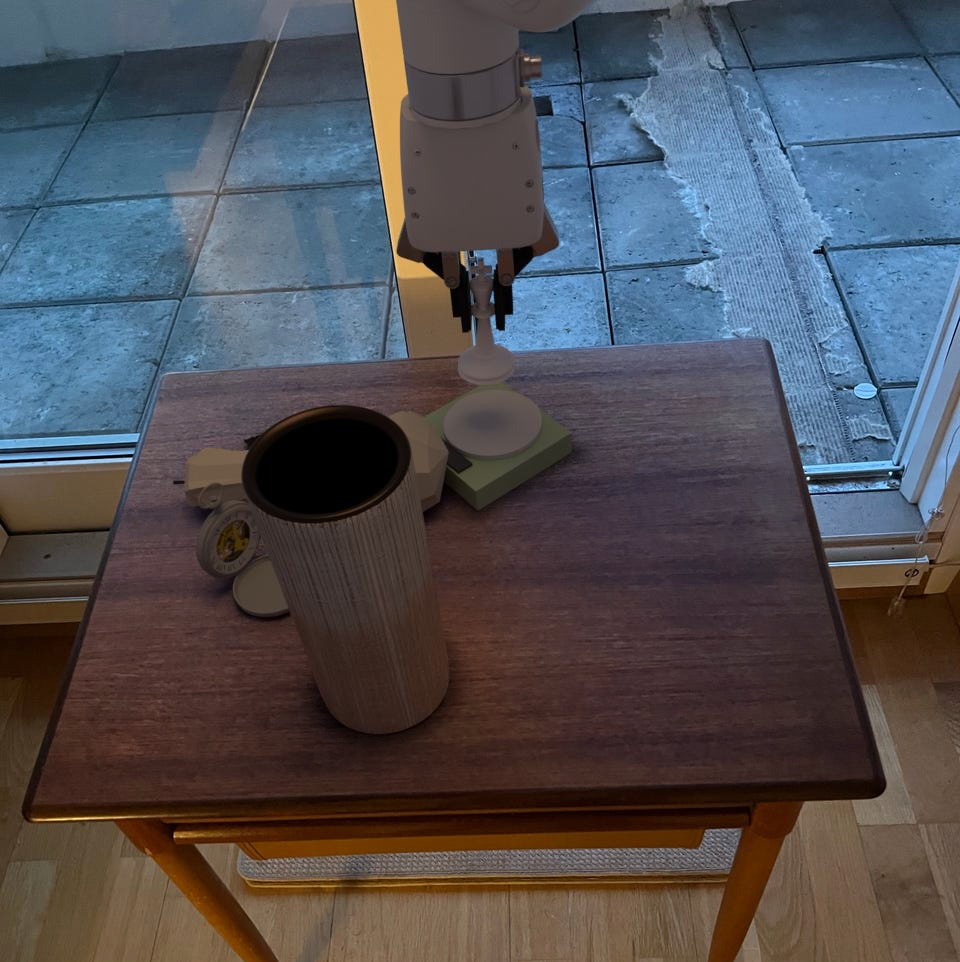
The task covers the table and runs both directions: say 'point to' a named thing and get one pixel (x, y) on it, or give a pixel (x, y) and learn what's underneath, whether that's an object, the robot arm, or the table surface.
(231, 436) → the table surface
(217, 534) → the pocket watch
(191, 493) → the faceted club
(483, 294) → the chess piece
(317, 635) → the planter
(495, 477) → the scale
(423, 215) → the robot arm
